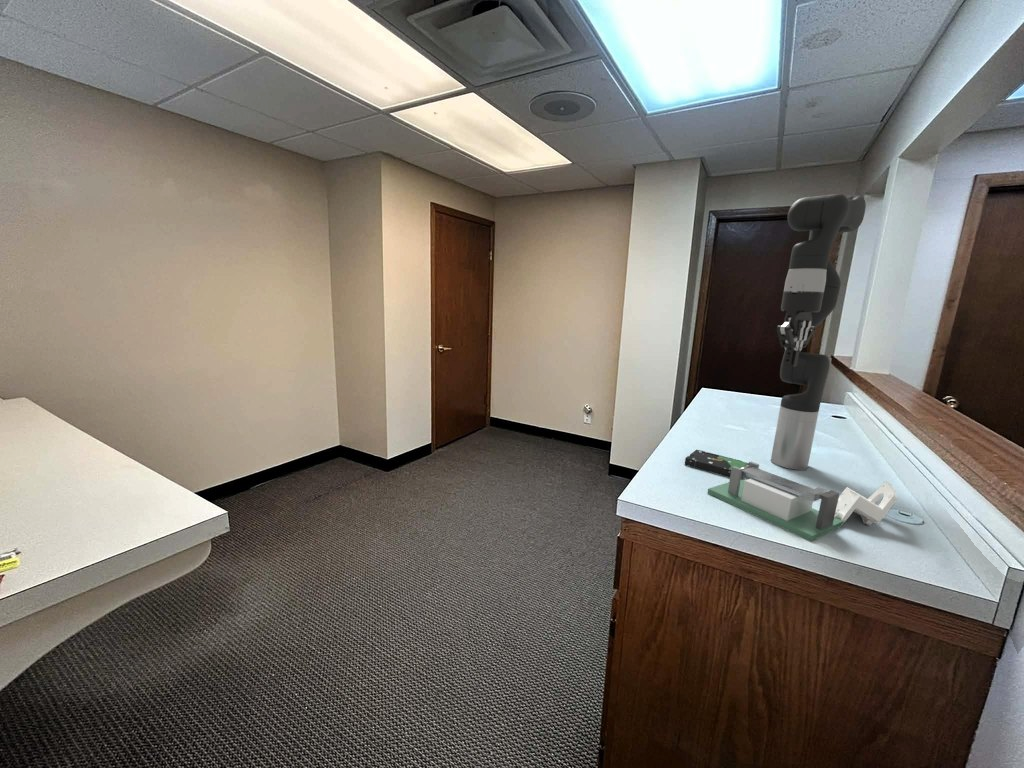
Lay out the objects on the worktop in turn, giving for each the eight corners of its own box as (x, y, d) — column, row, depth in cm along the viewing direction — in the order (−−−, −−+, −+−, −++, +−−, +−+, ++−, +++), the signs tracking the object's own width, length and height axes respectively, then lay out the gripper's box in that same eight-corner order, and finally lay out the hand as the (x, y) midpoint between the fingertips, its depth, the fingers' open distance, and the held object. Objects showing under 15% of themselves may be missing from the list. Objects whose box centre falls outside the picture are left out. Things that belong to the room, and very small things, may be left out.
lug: (824, 521, 88) (831, 489, 86) (832, 524, 86) (839, 492, 85) (812, 526, 85) (819, 494, 84) (820, 530, 84) (827, 497, 82)
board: (738, 483, 108) (743, 455, 106) (842, 525, 88) (849, 492, 87) (707, 493, 101) (711, 463, 100) (811, 541, 82) (819, 505, 80)
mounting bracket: (863, 540, 87) (902, 503, 82) (832, 520, 89) (868, 483, 85) (856, 516, 97) (890, 483, 92) (827, 499, 99) (859, 465, 95)
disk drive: (683, 467, 119) (741, 482, 110) (684, 457, 118) (742, 472, 109) (694, 457, 127) (749, 471, 117) (695, 449, 126) (750, 461, 117)
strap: (748, 469, 101) (749, 462, 101) (825, 497, 87) (827, 489, 87) (735, 472, 99) (736, 465, 98) (813, 502, 85) (814, 494, 84)
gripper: (800, 291, 100) (788, 362, 103) (770, 289, 93) (757, 364, 97) (836, 291, 93) (822, 367, 97) (806, 289, 87) (792, 370, 90)
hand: (790, 366), depth 97 cm, fingers closed
